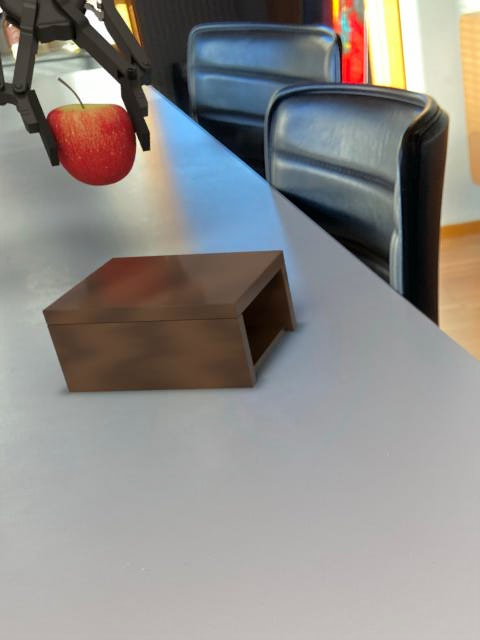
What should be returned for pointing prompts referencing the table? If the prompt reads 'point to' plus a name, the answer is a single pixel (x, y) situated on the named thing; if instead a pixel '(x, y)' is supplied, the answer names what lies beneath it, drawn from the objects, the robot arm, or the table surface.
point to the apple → (93, 141)
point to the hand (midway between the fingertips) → (101, 149)
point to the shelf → (172, 322)
